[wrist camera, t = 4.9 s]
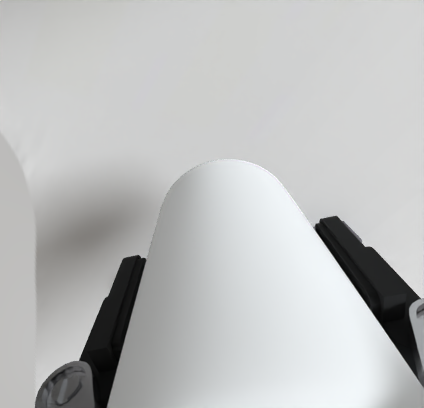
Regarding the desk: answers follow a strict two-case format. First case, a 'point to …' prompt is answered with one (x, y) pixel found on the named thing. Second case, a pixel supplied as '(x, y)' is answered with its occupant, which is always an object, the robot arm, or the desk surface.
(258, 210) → the can
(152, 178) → the desk surface
